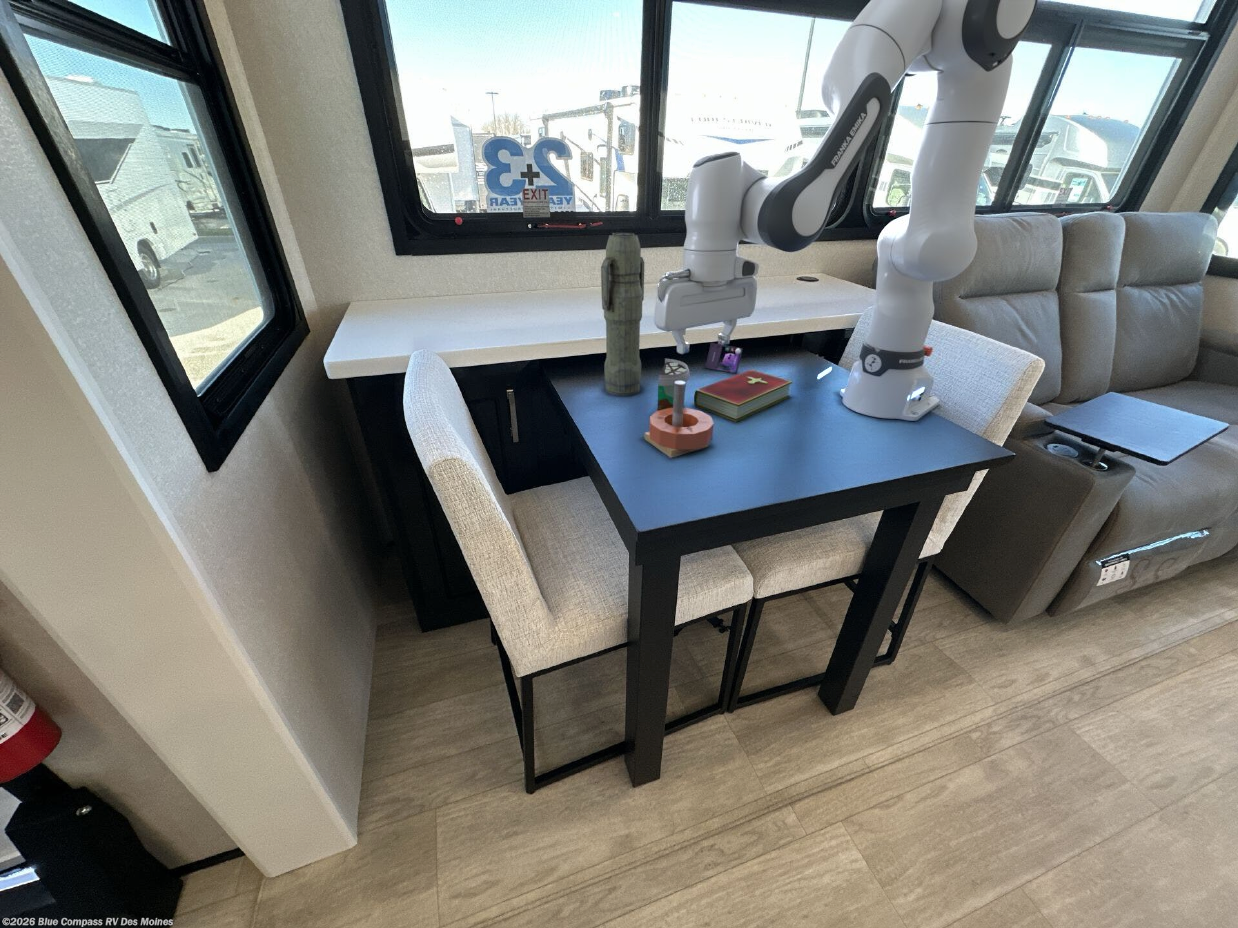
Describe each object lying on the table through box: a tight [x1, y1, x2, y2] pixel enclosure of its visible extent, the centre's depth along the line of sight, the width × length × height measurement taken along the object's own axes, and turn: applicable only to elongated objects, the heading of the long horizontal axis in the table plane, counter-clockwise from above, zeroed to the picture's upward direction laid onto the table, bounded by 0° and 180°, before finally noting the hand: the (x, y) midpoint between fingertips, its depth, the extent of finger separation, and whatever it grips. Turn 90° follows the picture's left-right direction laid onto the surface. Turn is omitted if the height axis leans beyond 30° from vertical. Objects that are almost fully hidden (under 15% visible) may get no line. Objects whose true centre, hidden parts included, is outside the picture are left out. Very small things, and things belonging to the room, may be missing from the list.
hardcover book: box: [693, 369, 793, 423], centre depth 112 cm, size 12×21×4 cm, turn 132°
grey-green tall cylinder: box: [600, 232, 645, 397], centre depth 111 cm, size 9×12×35 cm
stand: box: [644, 381, 710, 459], centre depth 92 cm, size 9×9×12 cm
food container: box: [657, 358, 691, 411], centre depth 106 cm, size 12×6×10 cm, turn 168°
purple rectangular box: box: [705, 342, 743, 374], centre depth 133 cm, size 7×5×9 cm
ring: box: [648, 407, 715, 449], centre depth 94 cm, size 12×12×3 cm
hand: (703, 348), depth 88 cm, fingers open, 8 cm apart
